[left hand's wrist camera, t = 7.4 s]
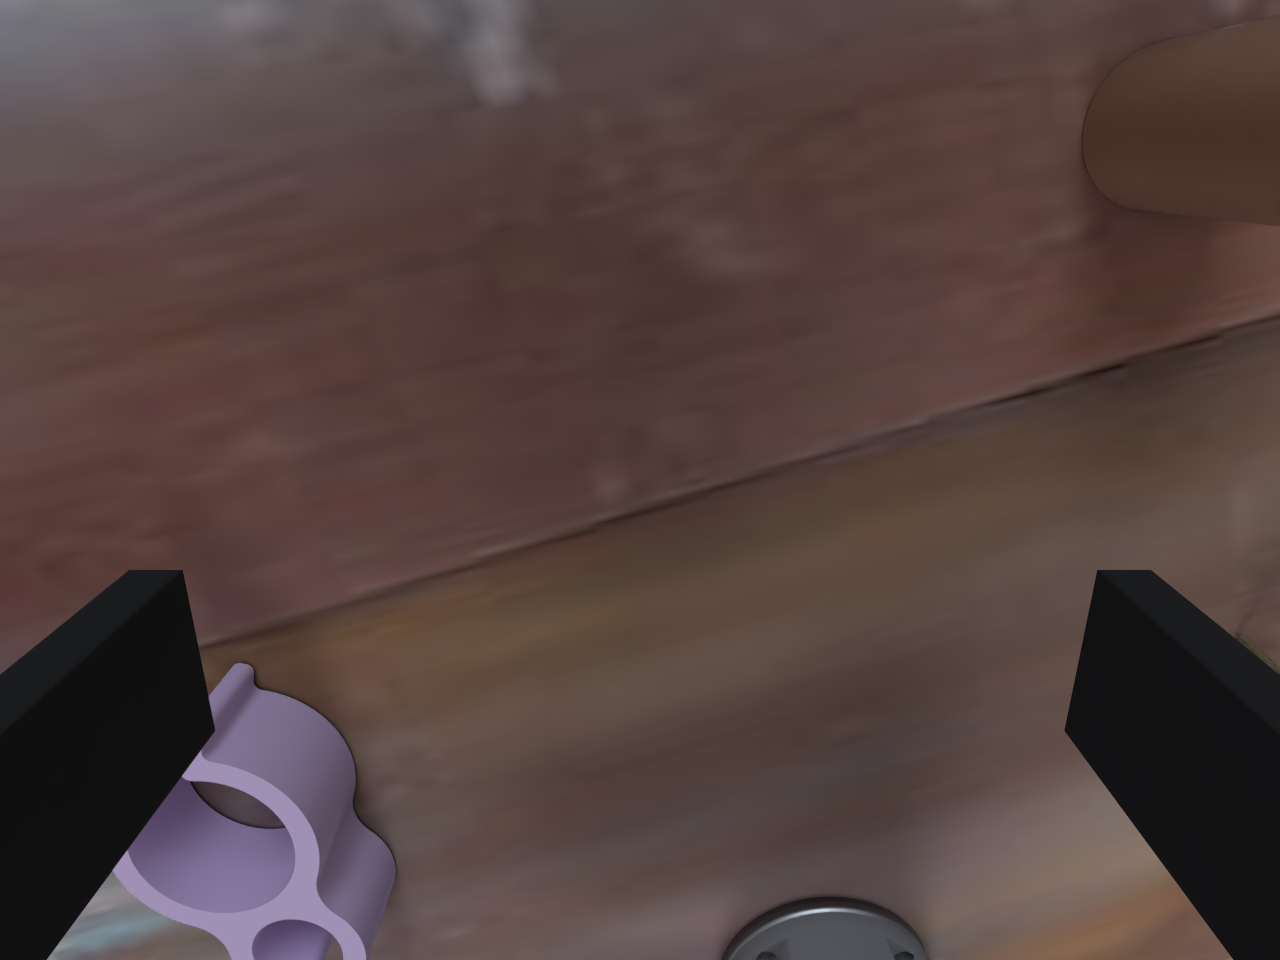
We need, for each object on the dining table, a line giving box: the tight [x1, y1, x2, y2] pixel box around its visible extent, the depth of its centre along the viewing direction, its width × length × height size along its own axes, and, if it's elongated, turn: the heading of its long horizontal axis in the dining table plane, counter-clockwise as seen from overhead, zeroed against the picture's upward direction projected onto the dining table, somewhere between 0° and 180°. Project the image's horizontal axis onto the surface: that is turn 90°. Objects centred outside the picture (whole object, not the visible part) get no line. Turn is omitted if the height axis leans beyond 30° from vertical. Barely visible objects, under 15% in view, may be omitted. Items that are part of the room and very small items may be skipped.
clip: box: [113, 663, 396, 960], centre depth 54 cm, size 20×12×7 cm, turn 26°
